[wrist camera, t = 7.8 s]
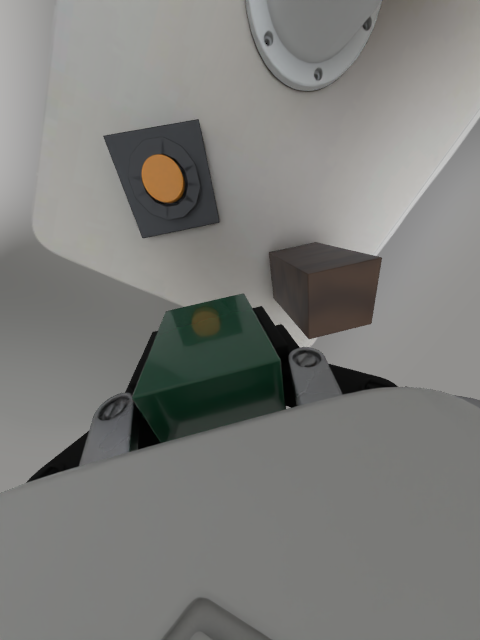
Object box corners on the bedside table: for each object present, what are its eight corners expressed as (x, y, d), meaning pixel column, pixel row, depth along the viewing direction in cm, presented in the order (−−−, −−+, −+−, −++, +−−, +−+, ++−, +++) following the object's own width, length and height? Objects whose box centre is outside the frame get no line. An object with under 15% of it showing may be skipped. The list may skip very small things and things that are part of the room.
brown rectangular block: (268, 252, 28) (307, 274, 18) (316, 242, 28) (382, 257, 18) (273, 298, 31) (308, 339, 21) (316, 288, 32) (371, 324, 21)
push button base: (112, 143, 20) (93, 128, 17) (198, 127, 21) (198, 110, 18) (147, 236, 25) (137, 240, 21) (218, 221, 25) (220, 222, 22)
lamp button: (140, 162, 19) (134, 158, 17) (178, 155, 19) (175, 150, 17) (154, 206, 21) (150, 205, 19) (189, 199, 21) (188, 198, 19)
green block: (165, 310, 11) (130, 398, 6) (244, 292, 11) (281, 359, 6) (189, 371, 13) (180, 477, 8) (255, 354, 13) (290, 445, 8)
